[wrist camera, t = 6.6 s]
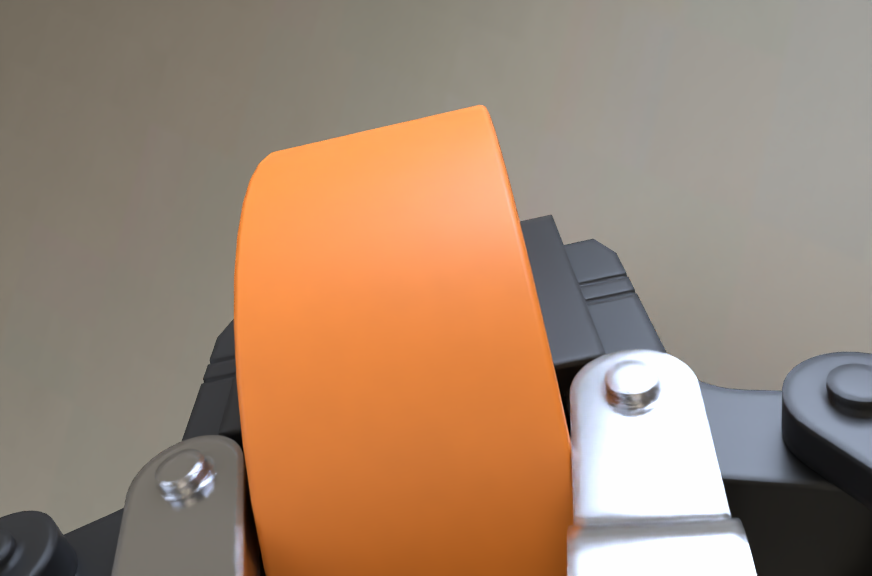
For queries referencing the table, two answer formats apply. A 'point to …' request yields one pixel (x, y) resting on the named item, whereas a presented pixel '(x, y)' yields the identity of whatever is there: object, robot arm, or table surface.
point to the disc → (397, 361)
